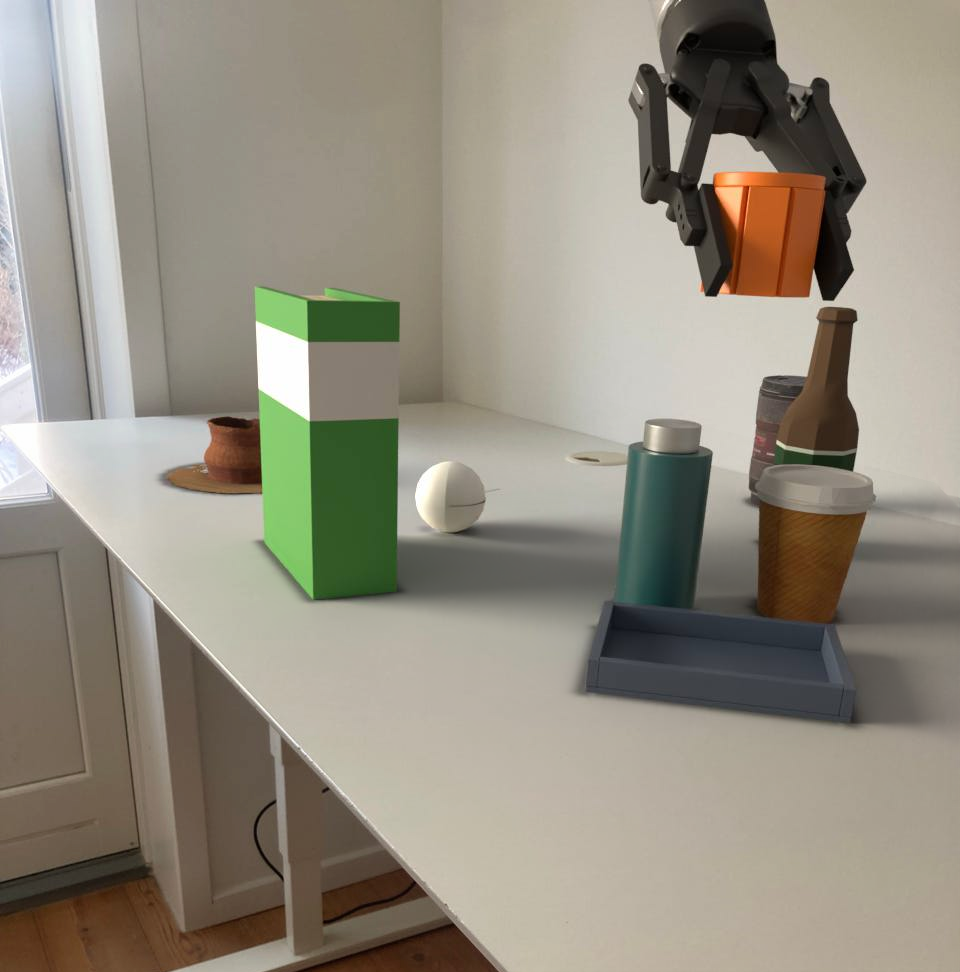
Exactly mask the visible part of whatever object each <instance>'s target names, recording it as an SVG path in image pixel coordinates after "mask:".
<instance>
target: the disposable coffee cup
mask: <svg viewBox="0 0 960 972" xmlns="http://www.w3.org/2000/svg"><path fill="white" fill-rule="evenodd" d="M755 489H756V490H757V491H758V493H757V496H758V498H759V507H758V513H759V514H758V545H757V546H758V553H757V554H758V556H757V557H758V558H757V559H758V560H757V611H758V612H759V613H760V614H762V615H763V616H764V617H767V618H777V619H786V620H796V621H805V622H815V623H823V624H829V623H830V622H831V621H833V620H834V617H835V613H836V610H837V607H838V605H839V604H838V603H839V601H840V598H841V595H842V592H843V588H844V585H845V583H846V580H847V576H848V573H849V571H850V566H851V564H852V560H853V557H854V555H855V551H856V547H857V545H858V542H859V539H860V537H861V533H862V529H863V526H864V523H865V521H866V517H867V513H868V511H870V510H871V508H872V506H873V504H874V503H875V502H876V501H877V496H876V495H875V493H874V482H873V479H872V478H870V477H869V476H867V475H866V474H862V473H860V472H856V471H853V472H852V471H848V470H843V469H838V468H832V467H824V466H815V465H797V464H794V465H776V466H770V467H767V468H765V469H764V471H763V473H762V476H761V479H760V481H759V482H757V483H756V485H755Z"/></svg>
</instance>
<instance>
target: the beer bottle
mask: <svg viewBox="0 0 960 972" xmlns="http://www.w3.org/2000/svg"><path fill="white" fill-rule="evenodd" d="M817 312H818V313H817V314H816V316H815V319H816V320H817V321H818V325H817V331H816V334H815V339H814V343H813V348H812V351H811V352H812V353H811V356H810V362H809V366H808V370H807V375H806V377H807V378H806V381H805V384H804V387H803V390H802V392H801V393H800V395H799V396H798V397H797V398H796V399H795V400H794V401H793V403H792V404H791V405H790V406H789V407H788V409H787V411H786V413H785V415H784V417H783V419H782V421H781V423H780V428H779V432H778V437H777V442H776V448H775V455H774V462H773V466H776V465H794V464H797V465H815V466H824V467H832V468H838V469H843V470H848V471H852V472H854V470H855V464H856V458H857V451H858V444H859V435H860V427H859V421H858V417H857V412H856V410H855V408H854V406H853V403H852V402H851V399H850V397H849V388H848V387H849V385H848V384H849V383H848V382H849V381H848V380H849V369H850V361H851V351H852V341H853V332H854V324H855V323H857V322H858V311H857V310H856V309H854V308H852V307H843V306H824V307H821V308H819V310H818V311H817Z"/></svg>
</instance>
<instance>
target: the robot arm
mask: <svg viewBox="0 0 960 972" xmlns="http://www.w3.org/2000/svg"><path fill="white" fill-rule="evenodd" d="M648 3H649V8H650V12H651V16H652V22H653V25H654V30H655V34H656V38H657V42H658V45H659V53H660V57H661V62H662V66H663V70H664V72H662V73H661V72H660V73H659V72H658V71H657V69H656V67H655V66H654V65H652V64H650V63H641V64H640V65H639V66H638V69H637V71H636V75H635V78H634V81H633V84H632V86H631V90H630V92H629V97H628V104H629V106H630V108H631V110H632V112H633V114H634V116H635V118H636V120H637V134H638V135H637V137H638V158H639V182H640V183H639V184H640V198H641V200H642V202H644V203H645V204H648V205H656V204H658V202H663V203H665V204H667V208H666V210H665V217H666V219H667V221H670V222H672V223H676V226H677V231H678V235H679V239H680V241H681V243H682V244H683V245H684V246H685V247H693V249H694V254H695V258H696V262H697V267H698V272H699V276H700V280H702V285H703V289H704V292H703V293H704V297H706V298H707V297H708V298H717V297H718V295H719V294H718V293H719V291H720V289H721V287H722V285H723V284H724V282H725V280H726V278H727V276H728V274H729V272H730V270H731V268H732V266H733V264H732V259H731V255H730V251H729V247H728V243H727V239H726V235H725V231H724V226H723V222H722V218H721V214H720V210H719V206H718V202H717V198H716V193H715V189H714V185H713V183H704V182H703V183H701V184H700V187H699V186H698V185H699V183H700V180H701V177H702V172H703V170H704V165H705V163H706V158H707V153H708V150H709V146H710V141H711V138H712V135H719V136H721V135H728V134H732V135H736V136H741V137H744V138H745V139H746V141H747V142H748V144H749V145H750V146H751V147H752V149H753V150H754V151H755V152H756V153H759V152H763V154H764V155H765V157H766V158H767V159H768V160H769V162H770V163H771V165H772V166H773V167H774V169H775V170H776V172H780V173H799V174H811V175H819V176H824V177H826V180H825V187H824V191H825V197H824V204H823V210H822V217H821V223H820V230H819V237H818V243H817V250H816V256H815V263H814V269H813V272H814V276H815V279H816V282H817V286H818V289H819V293H820V296H821V299H822V301H824V302H834V301H835V300H836V299H837V297H838V296H839V294H840V292H841V291H842V289H843V288H844V287H845V285H846V284H847V282H848V281H849V279H850V277H851V276H852V274H853V273H854V271H855V268H854V264H853V261H852V257H851V255H850V251H849V247H848V245H847V243H848V242H849V240H850V238H851V236H852V228H851V225H850V221H849V218H848V215H847V214H848V213H849V212H850V210H851V209H852V207H853V205H854V204H855V202H856V201H857V199H858V197H859V196H860V194H861V193H862V191H863V189H864V188H865V186H866V184H867V183H868V182H867V181H868V180H867V177H866V175H865V173H864V171H863V169H862V166H861V165H860V163H859V160H858V158H857V156H856V154H855V153H854V151H853V148H852V146H851V144H850V142H849V140H848V137H847V135H846V133H845V131H844V129H843V127H842V124H841V122H840V121H839V118H838V117H837V114H836V112H835V110H834V108H833V105H832V104H831V96H830V95H831V94H830V93H831V92H830V91H831V90H830V89H831V88H830V83H829V81H828V80H827V79H825V78H823V77H821V76H820V77H819V76H818V77H817V76H816V77H814V78H813V79H812V81H811V83H810V85H809V86H806V85H802V84H797V83H793V82H790V78H789V76H788V74H787V73H786V72H785V70H783V68H782V67H781V66H780V64H779V63H778V55H777V54H778V51H777V50H778V49H777V38H776V32H775V29H774V27H773V23H772V20H771V16H770V13H769V9H768V6H767V4H766V3H767V2H766V0H648ZM668 99H669V100H670V101H671V102H672V103H673V104H674V105H675V106H676V107H677V108H679V109H680V110H681V111H682V112H683V113H684V114H685V115H687V116H688V117H689V119H690V123H689V127H688V131H687V134H686V138H685V140H684V141H685V142H684V143H685V144H684V148H683V151H682V155H681V160H680V163H679V166H678V170H677V171H674V170H672V164H671V163H672V162H671V146H670V145H671V144H670V130H669V129H670V128H669V127H670V126H669V112H668Z"/></svg>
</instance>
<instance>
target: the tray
mask: <svg viewBox="0 0 960 972" xmlns="http://www.w3.org/2000/svg"><path fill="white" fill-rule="evenodd" d="M586 664H587V665H586V672H585V673H586V674H585V686H584V687H585V688H584V692H585V693H594V694H601V695H609V696H616V697H617V696H618V697H625V698H635V699H642V700H652V701H657V702H658V701H660V702H668V703H675V704H683V705H684V704H685V705H692V706H701V707H707V708H708V707H709V708H718V709H726V710H733V711H742V712H752V713H759V714H768V715H775V716H784V717H791V718H801V719H809V720H816V721H826V722H833V723H842V724H851V722H852V716H853V712H854V706H855V701H856V698H857V697H856V696H857V692H858V691H857V687H856V685H855V681H854V679H853V675H852V672H851V669H850V666H849V663H848V661H847V657H846V655H845V651H844V649H843V644H842V642H841V640H840V637H839V634H838V631H837V628H836V625H835V624H832V623H825V624H823V623H815V622H805V621H796V620H786V619H777V618H769V617H767V616H756V615H747V614H739V613H738V614H737V613H729V612H718V611H708V610H698V609H693V610H690V609H681V608H671V607H662V606H652V605H642V604H633V603H623V602H614V600H613V601H612V600H604V601H603V605H602V608H601V611H600V615H599V618H598V622H597V625H596V628H595V633H594V636H593V638H592V643H591V646H590V650H589V653H588V657H587V663H586Z"/></svg>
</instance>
